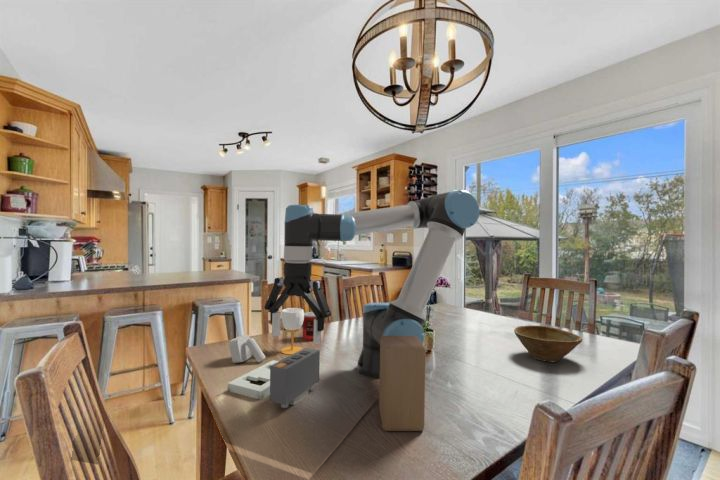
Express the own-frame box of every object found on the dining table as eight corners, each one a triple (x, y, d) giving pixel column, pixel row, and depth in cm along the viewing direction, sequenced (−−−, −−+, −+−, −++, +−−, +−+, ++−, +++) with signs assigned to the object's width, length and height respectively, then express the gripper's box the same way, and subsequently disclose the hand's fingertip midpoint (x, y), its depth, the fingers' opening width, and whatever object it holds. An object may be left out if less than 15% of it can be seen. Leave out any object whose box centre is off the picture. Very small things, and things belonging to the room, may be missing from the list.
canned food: (311, 334, 155) (312, 310, 155) (323, 338, 150) (324, 313, 150) (298, 338, 149) (299, 313, 149) (311, 342, 144) (311, 316, 144)
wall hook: (260, 365, 116) (254, 336, 117) (234, 369, 118) (228, 341, 119) (271, 357, 124) (265, 330, 125) (246, 361, 126) (240, 335, 127)
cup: (275, 353, 130) (276, 311, 130) (288, 345, 139) (288, 307, 139) (296, 356, 127) (297, 313, 127) (307, 348, 136) (308, 308, 136)
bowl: (590, 373, 115) (590, 344, 115) (516, 364, 123) (517, 337, 123) (572, 353, 136) (573, 328, 136) (510, 346, 143) (511, 322, 143)
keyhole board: (302, 375, 110) (302, 366, 110) (260, 402, 92) (260, 391, 91) (272, 368, 115) (273, 360, 115) (227, 393, 96) (227, 383, 96)
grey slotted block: (319, 388, 99) (319, 349, 99) (285, 413, 84) (286, 368, 84) (304, 384, 101) (305, 346, 101) (269, 409, 87) (270, 364, 86)
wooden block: (416, 410, 89) (417, 334, 88) (425, 432, 79) (426, 347, 79) (378, 410, 88) (379, 334, 88) (382, 432, 78) (383, 347, 78)
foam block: (308, 396, 95) (308, 386, 95) (293, 408, 89) (294, 396, 89) (297, 394, 97) (298, 383, 97) (282, 405, 90) (282, 394, 90)
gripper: (344, 263, 91) (342, 342, 91) (270, 258, 101) (268, 329, 101) (331, 265, 84) (328, 350, 84) (252, 260, 94) (250, 336, 94)
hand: (295, 339), depth 93 cm, fingers open, 13 cm apart
